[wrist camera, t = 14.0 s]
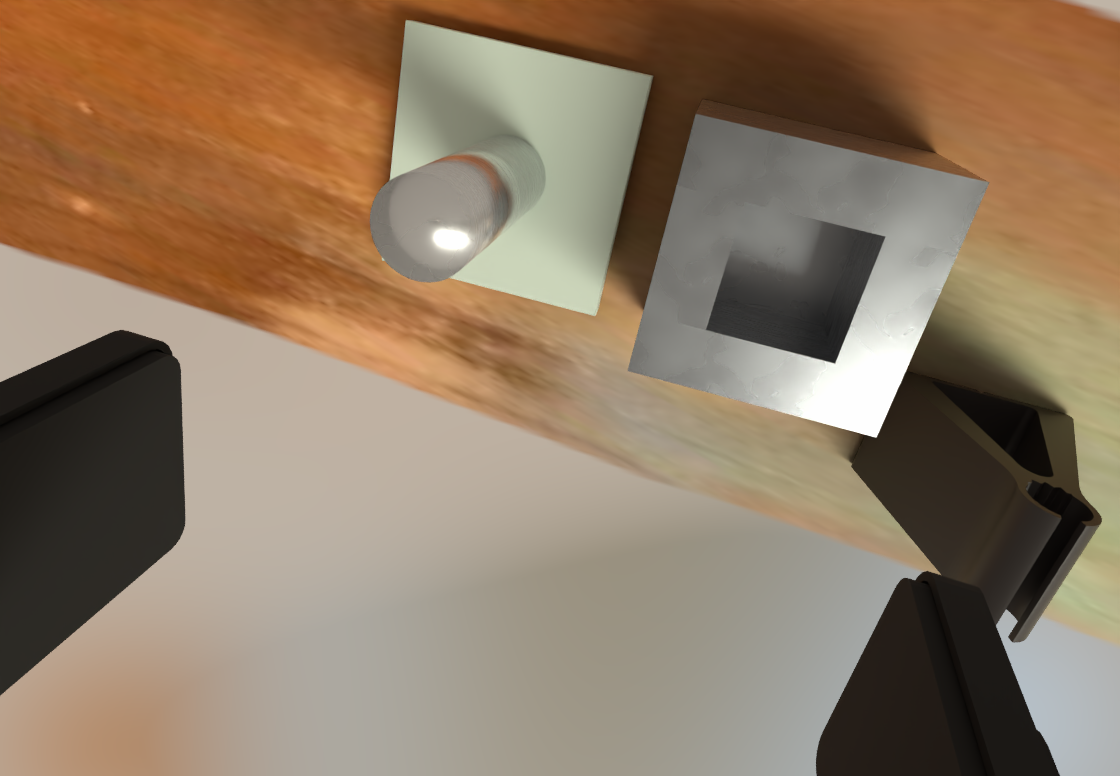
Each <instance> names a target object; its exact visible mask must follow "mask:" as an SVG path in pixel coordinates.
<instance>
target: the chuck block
mask: <svg viewBox="0 0 1120 776" xmlns="http://www.w3.org/2000/svg"><path fill="white" fill-rule="evenodd" d="M988 184H989V182H987V181H986V180H984V179H982V178H980V177H978V176H977V175H975V174H973V173H971V172H970V171H968V170H966V169H964V168H962V167H961V166H959V165H957V164H955V163H953V162H952V161H950V160H948V159H946V158H944V157H943V156H941V155H939V154H937V153H933V152H929V151H925V150H920V149H916V148H912V147H907V146H903V145H899V144H894V143H890V142H886V141H882V140H877V139H873V138H869V137H864V136H860V135H856V134H851V133H847V132H843V131H838V130H834V129H830V128H826V127H821V126H817V125H813V124H808V123H804V122H800V121H795V120H791V119H787V118H782V117H778V116H774V115H770V114H765V113H761V112H757V111H752V110H748V109H744V108H739V107H735V106H731V105H726V104H722V103H718V102H714V101H709V100H705V99H702V101H701V103H700V105H699V108H698V110H697V112H696V115H695V118H694V122H693V126H692V130H691V134H690V137H689V141H688V145H687V149H686V152H685V156H684V160H683V164H682V168H681V171H680V175H679V179H678V183H677V186H676V190H675V194H674V198H673V202H672V205H671V209H670V213H669V217H668V220H667V224H666V228H665V232H664V235H663V239H662V243H661V247H660V251H659V254H658V258H657V262H656V266H655V269H654V273H653V277H652V281H651V285H650V288H649V292H648V296H647V300H646V303H645V307H644V311H643V315H642V319H641V322H640V326H639V330H638V334H637V337H636V341H635V345H634V349H633V352H632V356H631V360H630V364H629V368H628V371H630V372H634V373H638V374H641V375H645V376H649V377H652V378H656V379H660V380H664V381H667V382H671V383H675V384H679V385H682V386H686V387H690V388H694V389H697V390H701V391H705V392H708V393H712V394H716V395H720V396H723V397H727V398H731V399H735V400H738V401H742V402H746V403H750V404H753V405H757V406H761V407H764V408H768V409H772V410H776V411H779V412H783V413H787V414H791V415H794V416H798V417H802V418H806V419H809V420H813V421H817V422H820V423H824V424H828V425H832V426H835V427H839V428H843V429H847V430H850V431H854V432H858V433H862V434H865V435H869V436H873V437H877V435H878V432H879V430H880V428H881V426H882V423H883V421H884V419H885V417H886V414H887V412H888V410H889V408H890V405H891V403H892V401H893V399H894V396H895V394H896V392H897V390H898V387H899V385H900V383H901V381H902V378H903V376H904V374H905V372H906V369H907V367H908V365H909V363H910V360H911V358H912V356H913V354H914V351H915V349H916V347H917V345H918V342H919V340H920V338H921V335H922V333H923V331H924V329H925V326H926V324H927V322H928V320H929V317H930V315H931V313H932V311H933V308H934V306H935V304H936V302H937V299H938V297H939V295H940V293H941V290H942V288H943V286H944V284H945V281H946V279H947V277H948V275H949V272H950V270H951V268H952V266H953V263H954V261H955V259H956V257H957V254H958V252H959V250H960V248H961V245H962V243H963V241H964V239H965V236H966V234H967V232H968V230H969V227H970V225H971V223H972V221H973V218H974V216H975V214H976V211H977V209H978V207H979V205H980V202H981V200H982V198H983V196H984V193H985V191H986V189H987V187H988Z"/></svg>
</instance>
